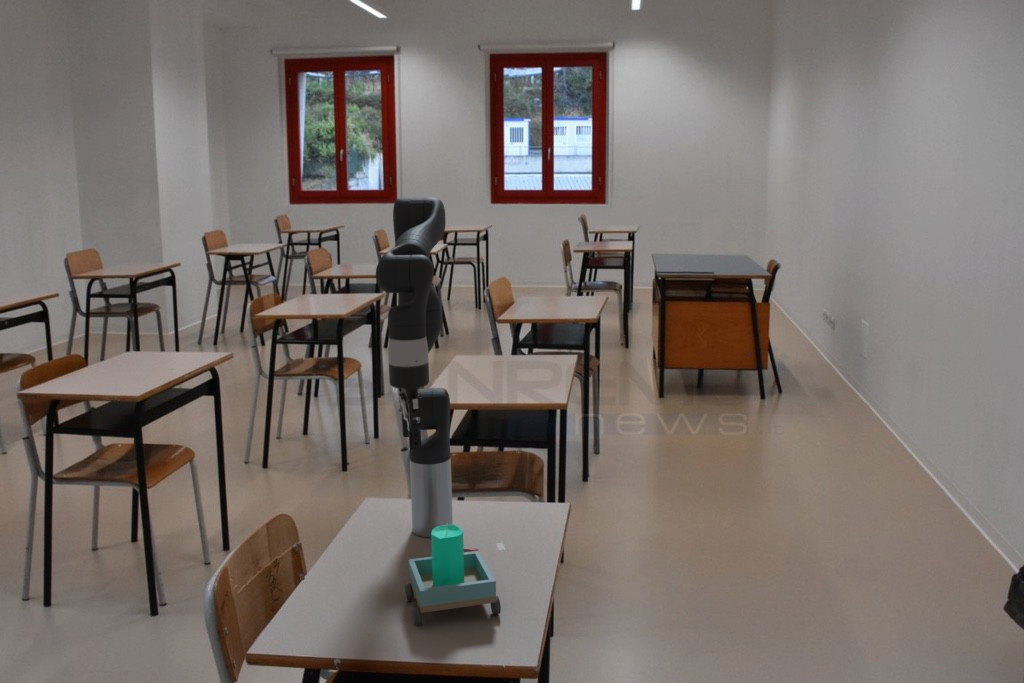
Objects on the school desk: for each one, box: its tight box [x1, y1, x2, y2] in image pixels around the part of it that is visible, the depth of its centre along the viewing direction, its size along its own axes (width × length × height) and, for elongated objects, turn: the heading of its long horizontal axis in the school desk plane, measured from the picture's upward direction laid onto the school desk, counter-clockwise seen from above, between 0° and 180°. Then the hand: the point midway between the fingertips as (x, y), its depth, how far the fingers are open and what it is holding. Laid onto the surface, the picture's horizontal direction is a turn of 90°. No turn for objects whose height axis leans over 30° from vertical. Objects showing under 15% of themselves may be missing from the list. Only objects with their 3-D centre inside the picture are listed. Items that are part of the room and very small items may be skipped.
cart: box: [404, 550, 501, 626], centre depth 178 cm, size 14×16×7 cm
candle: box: [430, 523, 465, 587], centre depth 178 cm, size 6×6×12 cm
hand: (411, 442), depth 181 cm, fingers open, 8 cm apart
